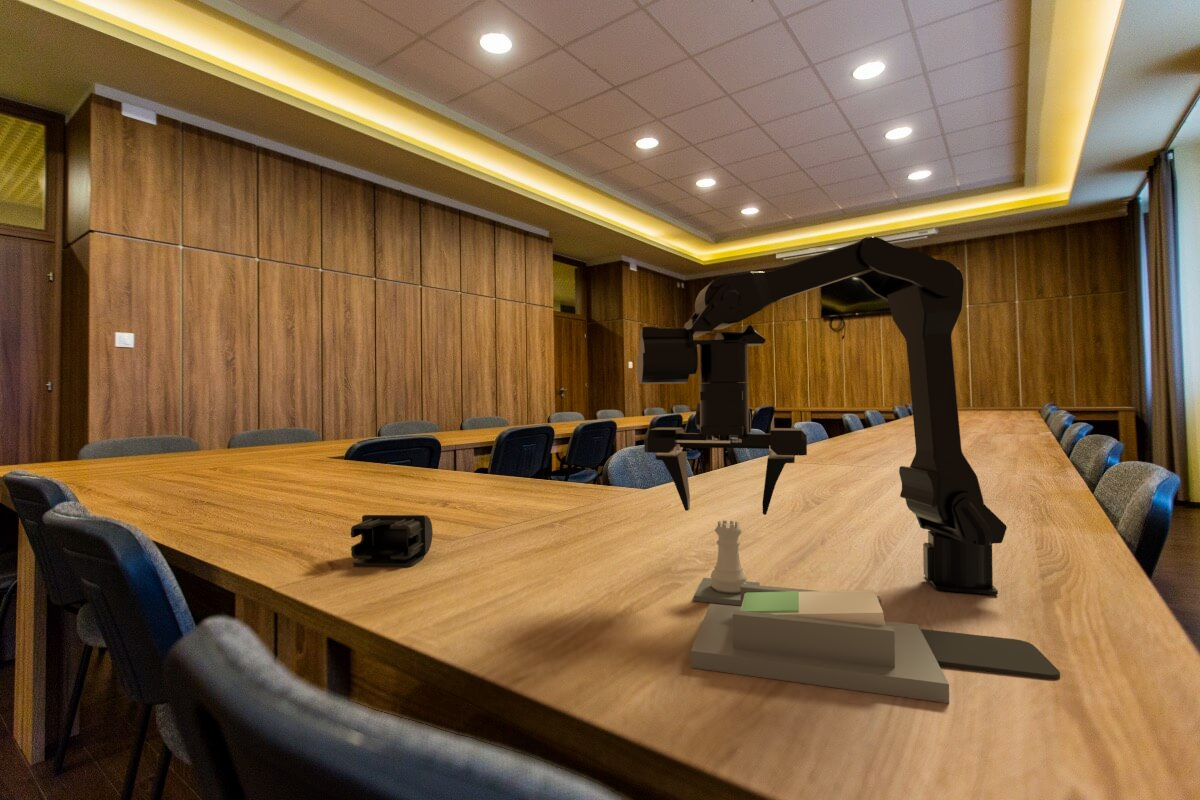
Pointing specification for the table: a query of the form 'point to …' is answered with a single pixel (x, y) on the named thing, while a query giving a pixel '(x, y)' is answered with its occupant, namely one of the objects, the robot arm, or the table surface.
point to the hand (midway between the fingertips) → (725, 512)
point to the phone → (989, 654)
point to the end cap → (391, 540)
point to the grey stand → (819, 651)
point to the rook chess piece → (728, 560)
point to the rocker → (819, 605)
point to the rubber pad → (717, 594)
